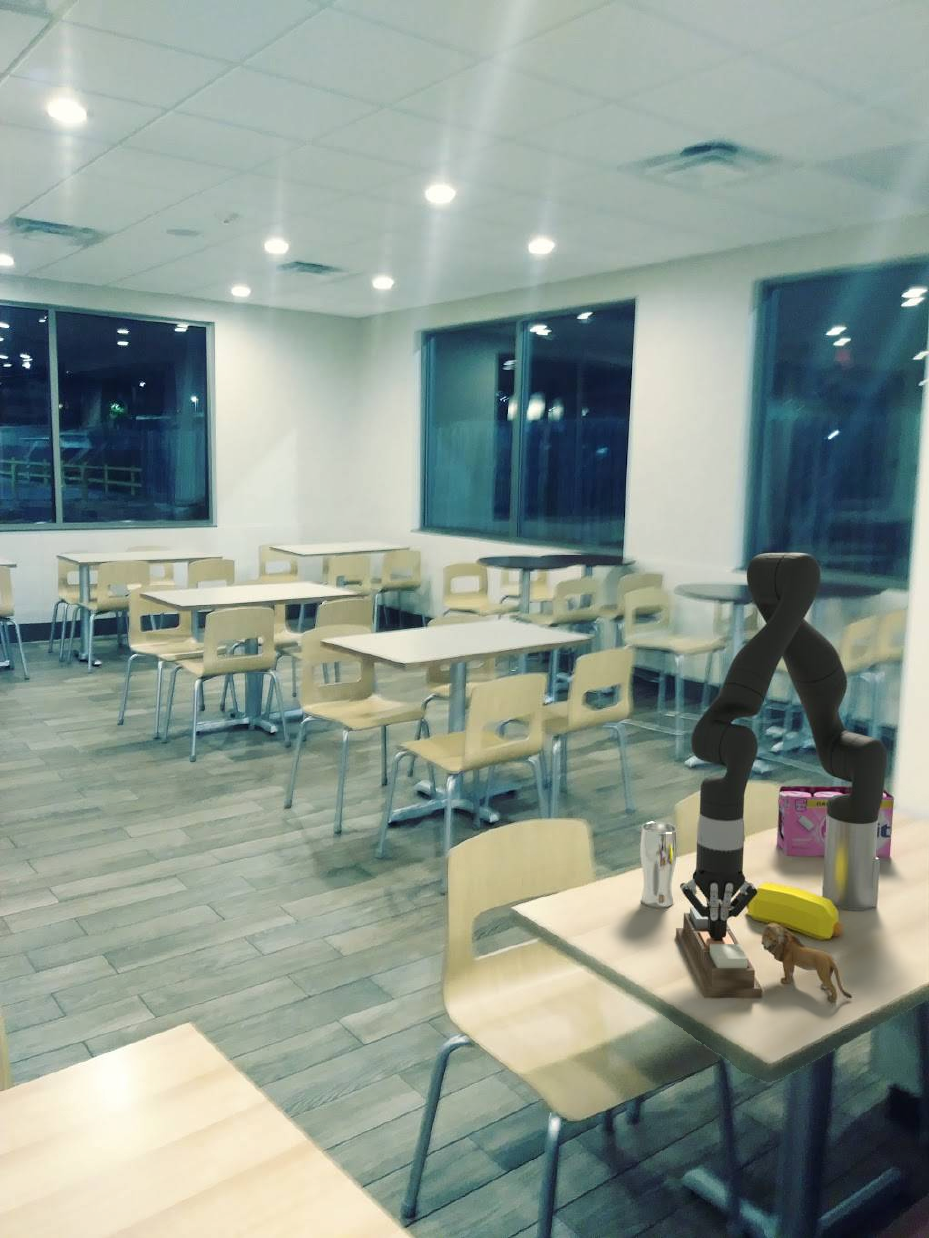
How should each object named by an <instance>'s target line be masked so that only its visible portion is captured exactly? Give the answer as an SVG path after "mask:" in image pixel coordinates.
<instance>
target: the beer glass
mask: <svg viewBox="0 0 929 1238" xmlns="http://www.w3.org/2000/svg"><path fill="white" fill-rule="evenodd" d="M640 833H641V834H640V835H641V836H640V845H639V847H640V848H639V849H640V851H639V852H640V853H639V855H640V862H641V868H642V875H643V889H642V894H641V902H642V903H643V904H644V905H646V906H648V907H651V908H655V909H656V908H657V909H662V908H663V909H664V908H668V907H671V906H672V905H673V904H674V897H673V890H672V887H673V885H672V883H673V876H674V872H675V868H676V863H677V856H678V835H677V826H675V825H674V824H672V823H669V822H664V821H649V822H645V823H643V824H642V825H641V832H640Z"/></svg>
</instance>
